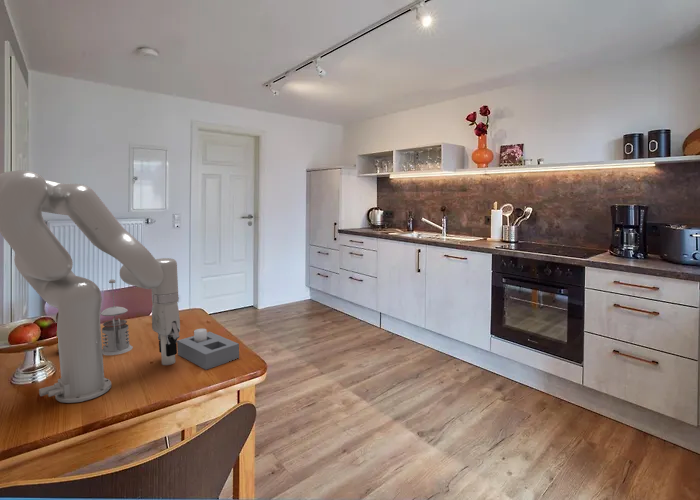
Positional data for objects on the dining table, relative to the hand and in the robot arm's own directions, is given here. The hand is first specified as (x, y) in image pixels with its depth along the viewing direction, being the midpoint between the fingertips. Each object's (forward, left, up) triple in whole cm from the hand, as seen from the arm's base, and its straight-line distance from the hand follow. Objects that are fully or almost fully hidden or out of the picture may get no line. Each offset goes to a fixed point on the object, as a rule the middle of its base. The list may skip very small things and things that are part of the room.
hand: (168, 352), depth 125 cm
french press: (-7, +23, -3) cm, 24 cm away
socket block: (+11, -5, -3) cm, 13 cm away
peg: (0, 0, -3) cm, 3 cm away
